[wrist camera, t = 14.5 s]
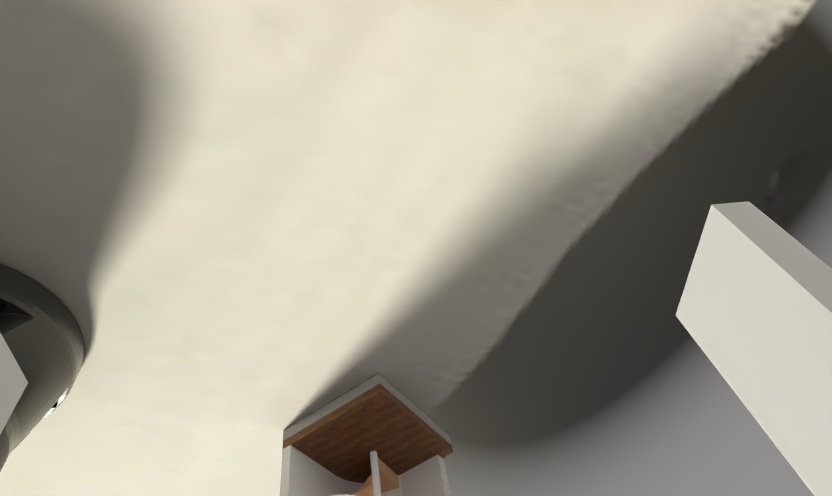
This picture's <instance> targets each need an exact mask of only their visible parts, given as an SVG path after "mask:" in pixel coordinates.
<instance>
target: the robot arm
mask: <svg viewBox="0 0 832 496" xmlns="http://www.w3.org/2000/svg"><path fill="white" fill-rule="evenodd" d="M676 316H677V318H678V319H679V320H680V322H681V323H682V324H683V325H684V327H685V328H686V329H687V331H688V332H689V333H690V335H691V336H692V337H693V338H694V340H695V341H696V342H697V344H698V345H699V346H700V348H701V349H702V350H703V352H704V353H705V354H706V355H707V357H708V358H709V359H710V361H711V362H712V363H713V364H714V366H715V367H716V368H717V370H718V371H719V372H720V374H721V375H722V376H723V378H724V379H725V380H726V381H727V383H728V384H729V385H730V387H731V388H732V389H733V390H734V392H735V393H736V394H737V396H738V397H739V398H740V399H741V401H742V402H743V404H744V405H745V406H746V407H747V409H748V410H749V411H750V413H751V414H752V415H753V417H754V418H755V419H756V420H757V422H758V423H759V424H760V426H761V427H762V428H763V430H764V431H765V432H766V433H767V435H768V436H769V437H770V439H771V440H772V441H773V443H774V444H775V445H776V446H777V448H778V449H779V450H780V451H781V453H782V454H783V456H784V457H785V458H786V459H787V461H788V462H789V463H790V464H791V466H792V467H793V469H794V470H795V471H796V472H797V473H798V475H799V476H800V478H801V479H802V480H803V481H804V483H805V484H806V485H807V487H808V488H809V489H810V491H811V492H812V493H813V495H814V496H832V269H831V268H830V267H828V266H827V265H826V264H825V263H824V262H822V261H821V260H820V259H819V258H818V257H816V256H815V255H814V254H813V253H811V252H810V251H809V250H808V249H806V248H805V247H804V246H803V245H802V244H800V243H799V242H798V241H797V240H795V239H794V238H793V237H792V236H791V235H789V234H788V233H787V232H786V231H784V230H783V229H782V228H781V227H780V226H778V225H777V224H776V223H775V222H773V221H772V220H771V219H770V218H769V217H767V216H766V215H765V214H764V213H762V212H761V211H760V210H759V209H758V208H756V207H755V206H754V205H753V204H751V203H750V202H737V203H726V204H713V205H711V207H710V211H709V214H708V217H707V220H706V223H705V226H704V229H703V232H702V235H701V239H700V242H699V245H698V248H697V251H696V254H695V257H694V260H693V263H692V266H691V269H690V272H689V276H688V279H687V282H686V285H685V288H684V291H683V294H682V297H681V301H680V303H679V307H678V310H677V313H676ZM83 358H84V343H83V338H82V335H81V332H80V329H79V327H78V325H77V323H76V321H75V320H74V318H73V316H72V315H71V314H70V312H69V311H68V310H67V309H66V307H65V306H64V305H63V304H62V303H61V302H60V301H59V300H58V299H57V298H56V297H55V296H54V295H53V294H51V293H50V292H49V291H48V290H46V289H45V288H44V287H42V286H41V285H39V284H38V283H36V282H35V281H33V280H31V279H30V278H28V277H26V276H24V275H22V274H20V273H18V272H16V271H14V270H12V269H10V268H7V267H5V266H2V265H0V471H1V469H2V467H3V465H4V463H5V461H6V459H7V457H8V456H9V454H10V452H11V451H12V450H13V449H15V448H16V447H17V446H18V444H19V443H20V442H21V441H22V440H23V439H24V438H25V437H26V436H27V435H28V434H29V433H30V431H31V430H32V429H33V428H34V427H35V426H36V425H37V424H38V422H39V421H40V420H41V419H43V418H45V417H46V416H48V415H49V414H50V413H51V412H53V411H54V410H55V409H56V408H57V407H58V406H59V405H60V404H61V403H62V402H63V400H64V399H65V398H66V396H67V395H68V393H69V392H70V390H71V388H72V386H73V384H74V382H75V380H76V377H77V375H78V373H79V371H80V368H81V366H82V363H83Z"/></svg>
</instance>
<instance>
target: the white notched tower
mask: <svg viewBox="0 0 832 496" xmlns="http://www.w3.org/2000/svg"><path fill="white" fill-rule="evenodd" d="M452 453H453V450H452V445H451V441H450V437H449V435H448V434H447V433H446V432H445V431H444V430H443V429H442V428H441V427H439V426H438V425H437V424H436V423H435V422H434V421H433V420H432V419H430V418H429V417H428V416H427V415H426V414H425V413H424V412H422V411H421V410H420V409H419V408H418V407H417V406H416V405H414V404H413V403H412V402H411V401H410V400H409V399H408V398H406V397H405V396H404V395H403V394H402V393H401V392H400V391H399V390H397V389H396V388H395V387H394V386H393V385H392V384H391V383H389V382H388V381H387V380H386V379H385V378H384V377H383V376H381V375H380V374H379V373H378V374H376V375H375V376H373V377H371V378H370V379H368V380H366V381H365V382H363V383H361V384H360V385H358V386H356V387H355V388H353V389H351V390H350V391H348V392H346V393H345V394H343V395H341V396H340V397H338V398H336V399H335V400H333V401H331V402H330V403H328V404H326V405H325V406H323V407H321V408H320V409H318V410H317V411H315V412H313V413H312V414H310V415H308V416H307V417H305V418H303V419H302V420H300V421H298V422H297V423H295V424H293V425H292V426H290V427H288V428H287V429H285V430H284V434H283V452H282V470H281V488H280V496H450V491H449V486H448V481H447V476H446V472H445V466H444V462H443V458H445V457H447V456H449V455H451V454H452Z"/></svg>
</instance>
